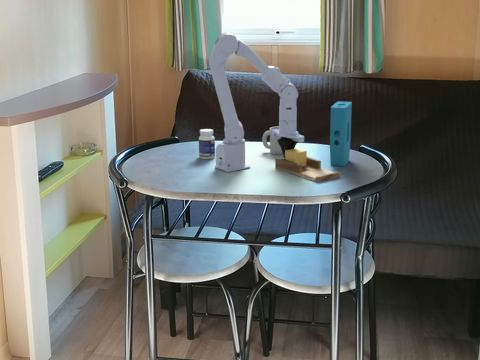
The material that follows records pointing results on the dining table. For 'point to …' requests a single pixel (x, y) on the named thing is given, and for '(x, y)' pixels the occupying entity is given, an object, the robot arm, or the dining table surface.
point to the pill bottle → (206, 144)
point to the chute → (306, 169)
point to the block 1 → (296, 156)
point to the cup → (272, 142)
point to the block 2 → (340, 133)
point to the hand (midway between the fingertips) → (287, 159)
